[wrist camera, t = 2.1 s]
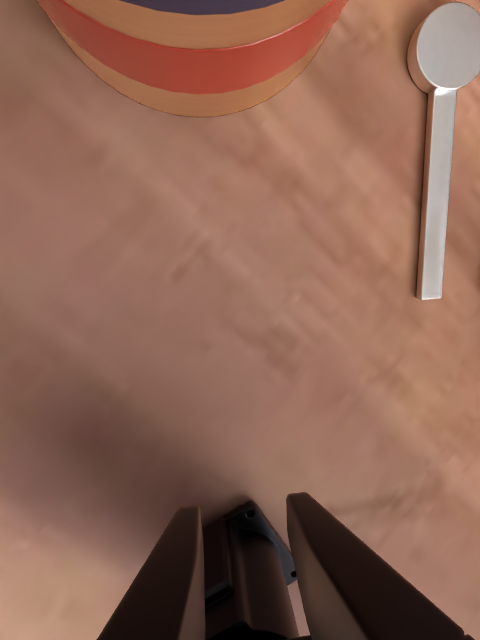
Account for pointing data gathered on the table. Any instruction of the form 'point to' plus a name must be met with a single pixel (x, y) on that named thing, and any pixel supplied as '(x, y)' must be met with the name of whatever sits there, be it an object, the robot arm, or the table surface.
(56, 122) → the table surface
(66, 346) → the table surface
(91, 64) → the tin
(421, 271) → the spoon
